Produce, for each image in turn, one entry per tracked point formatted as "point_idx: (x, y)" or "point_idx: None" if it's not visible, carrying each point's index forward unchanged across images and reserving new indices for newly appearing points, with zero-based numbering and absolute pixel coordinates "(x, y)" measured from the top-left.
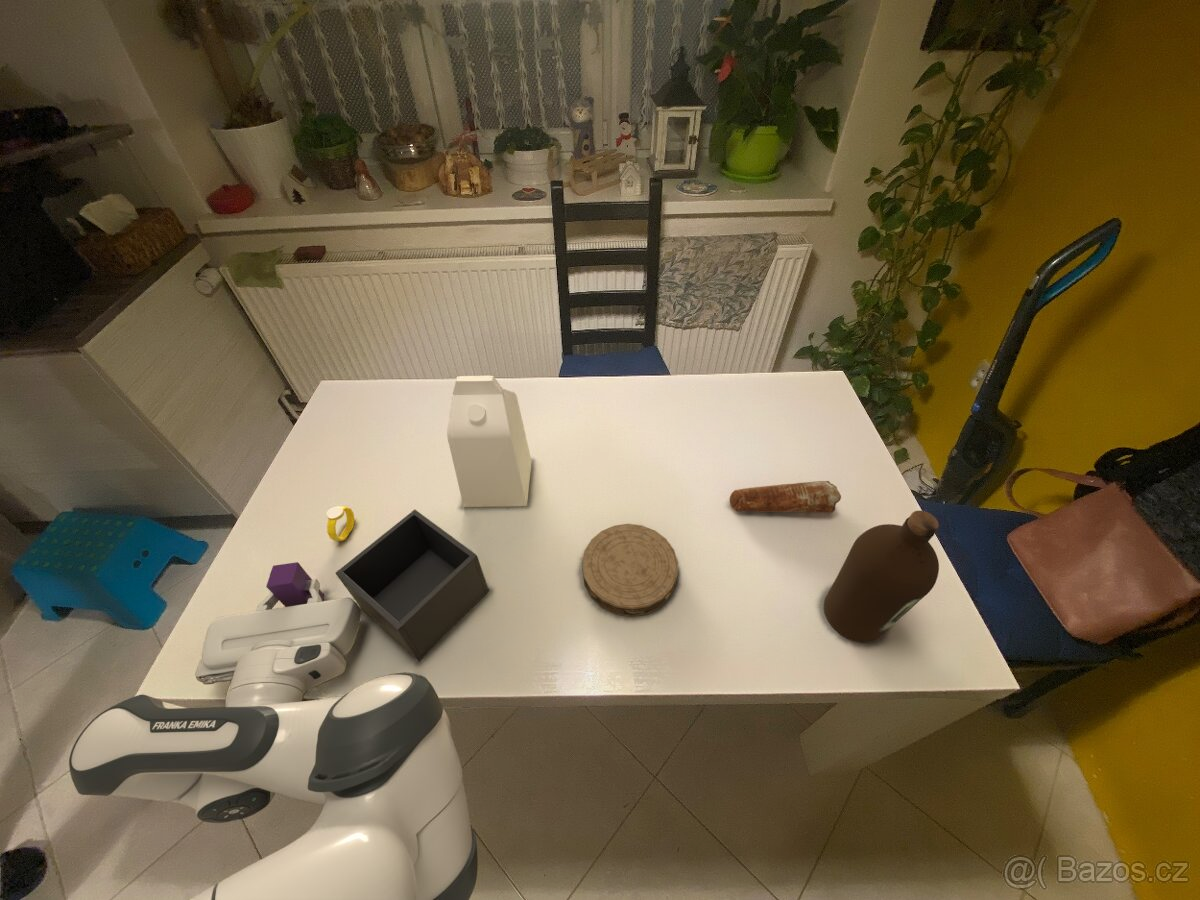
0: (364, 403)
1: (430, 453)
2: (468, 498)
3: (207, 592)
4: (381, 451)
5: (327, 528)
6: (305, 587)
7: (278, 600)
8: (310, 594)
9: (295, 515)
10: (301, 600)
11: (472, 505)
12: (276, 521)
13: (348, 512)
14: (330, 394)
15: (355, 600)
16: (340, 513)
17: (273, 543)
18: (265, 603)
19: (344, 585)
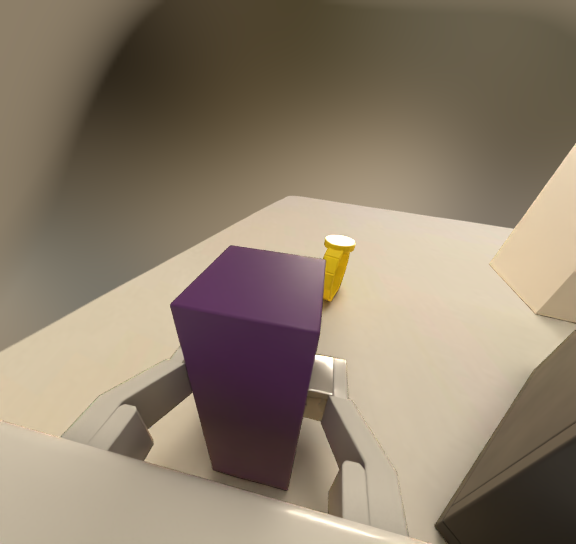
0: (323, 204)
1: (415, 244)
2: (569, 297)
3: (77, 310)
4: (351, 231)
5: None
6: (312, 380)
7: (190, 393)
8: (310, 416)
9: None
10: (276, 434)
11: (559, 315)
12: None
13: (341, 261)
14: (292, 196)
15: (469, 514)
16: (352, 243)
17: None
18: (135, 395)
19: (566, 460)
